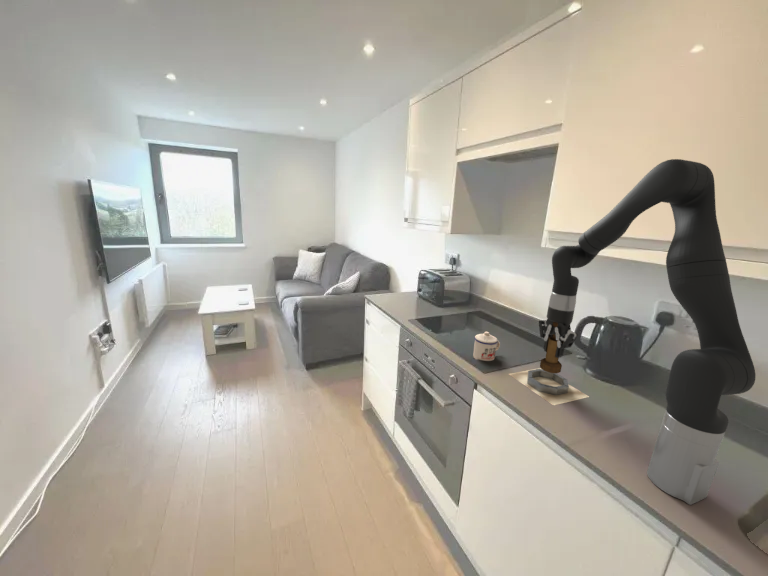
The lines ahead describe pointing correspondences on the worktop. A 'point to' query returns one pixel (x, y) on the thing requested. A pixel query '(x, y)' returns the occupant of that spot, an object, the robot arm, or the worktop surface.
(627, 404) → the worktop surface
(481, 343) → the teacup with lid
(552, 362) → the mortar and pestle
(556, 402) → the beech board
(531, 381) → the steel collar
